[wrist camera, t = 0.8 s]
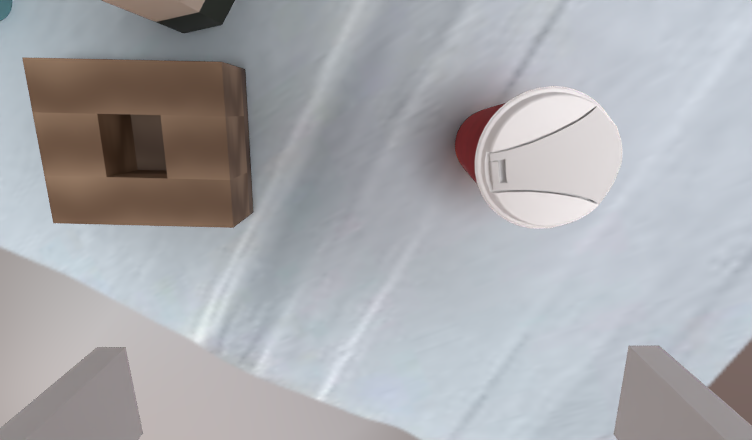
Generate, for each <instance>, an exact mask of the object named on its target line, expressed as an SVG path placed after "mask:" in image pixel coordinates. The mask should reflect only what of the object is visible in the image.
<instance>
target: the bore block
mask: <svg viewBox="0 0 752 440" xmlns="http://www.w3.org/2000/svg"><path fill="white" fill-rule="evenodd" d="M23 64H24V69H25V74H26V80H27V85H28V90H29V96H30V101H31V106H32V112H33V117H34V122H35V128H36V133H37V138H38V144H39V149H40V154H41V160H42V165H43V170H44V176H45V181H46V186H47V192H48V197H49V202H50V207H51V213H52V218H53V223H71V224H111V225H150V226H190V227H230V228H233V227H235V226H236V225H237V224H239V223H240V222H241V221H243V220H244V219H245V218H246V217H248V216H249V215H250V214H252V213H253V198H252V181H251V163H250V146H249V128H248V111H247V93H246V76H245V69H243V68H239V67H236V66H233V65H230V64H227V63H224V62H206V61H159V60H112V59H64V58H23Z"/></svg>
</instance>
